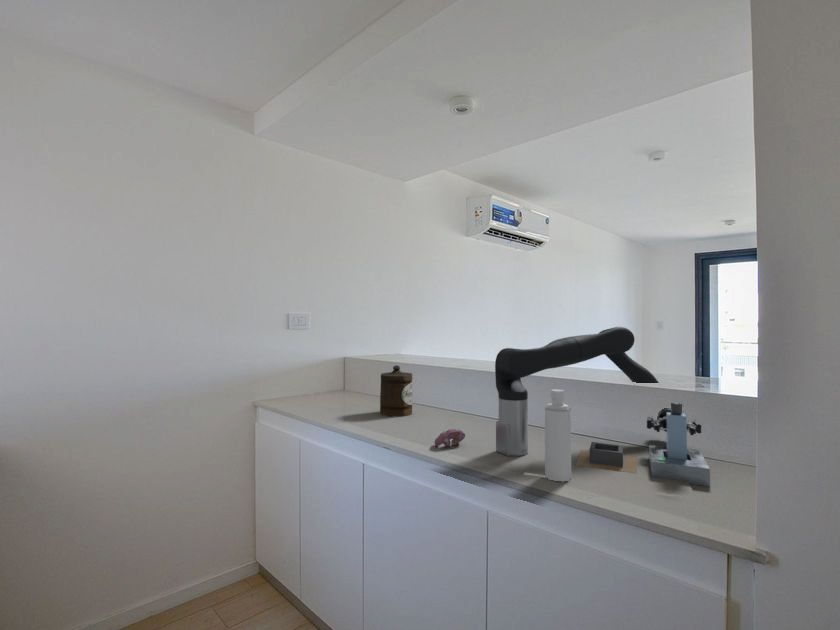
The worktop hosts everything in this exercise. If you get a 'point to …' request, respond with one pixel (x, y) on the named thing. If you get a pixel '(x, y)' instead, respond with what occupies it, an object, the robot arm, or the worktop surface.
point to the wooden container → (396, 393)
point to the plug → (676, 432)
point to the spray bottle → (558, 438)
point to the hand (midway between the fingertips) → (675, 430)
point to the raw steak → (450, 437)
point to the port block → (679, 466)
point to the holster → (607, 458)
